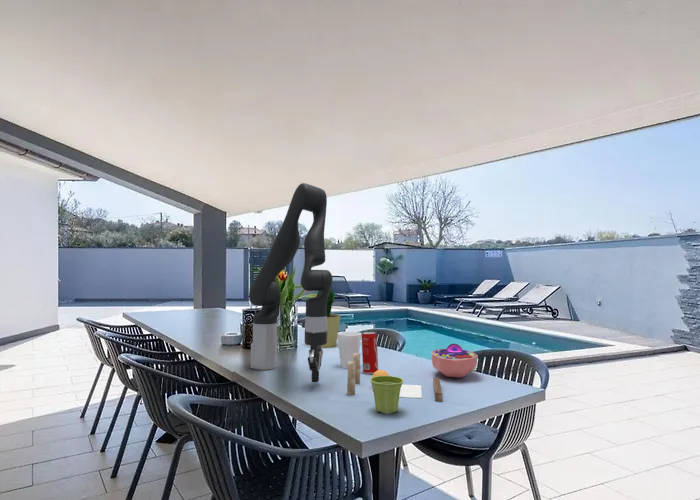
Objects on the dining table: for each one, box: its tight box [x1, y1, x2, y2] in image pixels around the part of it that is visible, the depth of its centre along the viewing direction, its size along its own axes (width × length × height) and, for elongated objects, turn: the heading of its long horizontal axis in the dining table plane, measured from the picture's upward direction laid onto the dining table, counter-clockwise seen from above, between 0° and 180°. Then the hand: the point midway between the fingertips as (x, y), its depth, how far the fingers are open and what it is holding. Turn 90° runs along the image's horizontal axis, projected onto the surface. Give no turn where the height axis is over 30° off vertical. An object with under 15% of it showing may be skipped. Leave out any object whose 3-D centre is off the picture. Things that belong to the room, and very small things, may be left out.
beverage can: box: [361, 331, 379, 375], centre depth 173 cm, size 6×6×15 cm
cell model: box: [430, 343, 479, 379], centre depth 169 cm, size 17×20×11 cm
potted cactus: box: [315, 287, 341, 349], centre depth 224 cm, size 15×15×30 cm
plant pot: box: [369, 375, 404, 414], centre depth 130 cm, size 9×9×9 cm
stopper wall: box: [432, 377, 443, 402], centre depth 147 cm, size 2×18×2 cm, turn 172°
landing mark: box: [399, 383, 423, 399], centre depth 149 cm, size 14×14×1 cm
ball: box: [371, 369, 390, 378], centre depth 152 cm, size 6×6×6 cm
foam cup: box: [337, 331, 362, 369], centre depth 182 cm, size 10×9×13 cm
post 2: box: [353, 352, 361, 385], centre depth 158 cm, size 2×2×10 cm
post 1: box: [346, 361, 356, 396], centre depth 145 cm, size 2×2×10 cm
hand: (315, 381), depth 153 cm, fingers closed
